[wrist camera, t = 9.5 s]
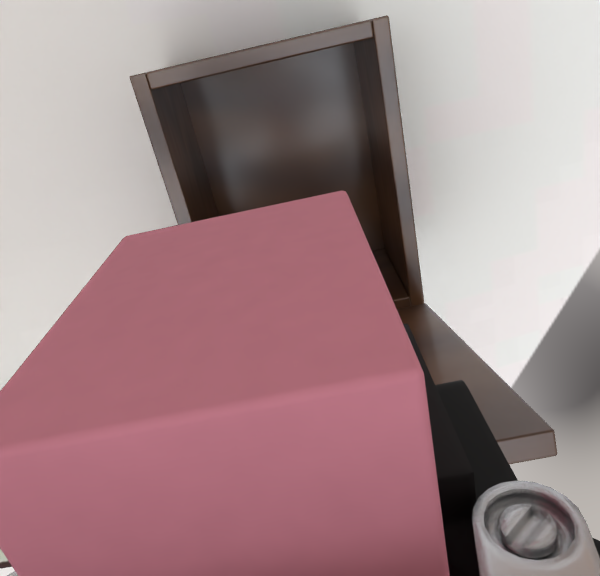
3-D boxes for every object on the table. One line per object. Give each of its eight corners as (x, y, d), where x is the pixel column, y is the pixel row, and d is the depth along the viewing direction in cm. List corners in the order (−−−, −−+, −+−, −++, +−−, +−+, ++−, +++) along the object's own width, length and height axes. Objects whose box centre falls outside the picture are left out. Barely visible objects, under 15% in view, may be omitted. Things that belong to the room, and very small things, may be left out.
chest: (165, 68, 33) (128, 76, 25) (361, 21, 32) (388, 15, 24) (230, 286, 40) (218, 347, 32) (395, 251, 39) (425, 305, 31)
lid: (115, 512, 15) (159, 657, 16) (555, 429, 14) (576, 586, 15) (216, 345, 31) (235, 422, 32) (425, 302, 30) (439, 382, 31)
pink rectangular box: (243, 556, 13) (218, 882, 8) (122, 235, 9) (-64, 464, 4) (404, 528, 13) (485, 847, 8) (346, 187, 9) (425, 371, 4)
